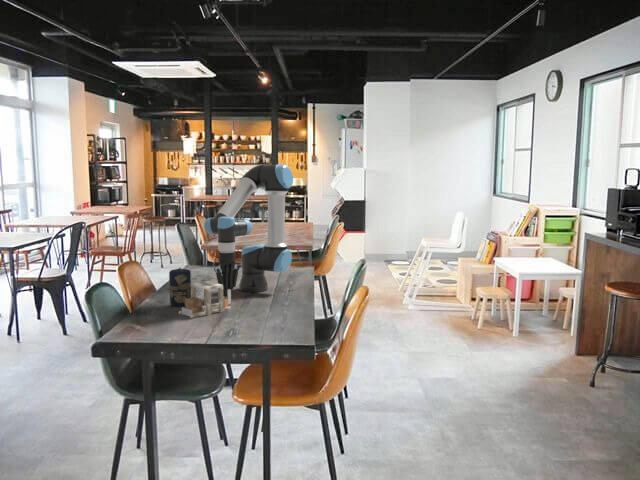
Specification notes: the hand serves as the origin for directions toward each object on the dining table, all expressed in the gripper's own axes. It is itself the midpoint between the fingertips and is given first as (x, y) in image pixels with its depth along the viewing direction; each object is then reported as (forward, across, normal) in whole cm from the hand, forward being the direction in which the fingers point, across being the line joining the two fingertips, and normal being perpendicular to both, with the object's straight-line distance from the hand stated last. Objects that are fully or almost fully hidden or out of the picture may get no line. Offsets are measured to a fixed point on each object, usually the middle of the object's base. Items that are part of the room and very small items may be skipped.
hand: (227, 303), depth 256 cm
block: (0, +18, 0) cm, 18 cm away
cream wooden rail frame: (+3, +9, 0) cm, 10 cm away
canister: (+3, +12, -19) cm, 23 cm away
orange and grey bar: (+1, +11, 0) cm, 11 cm away
